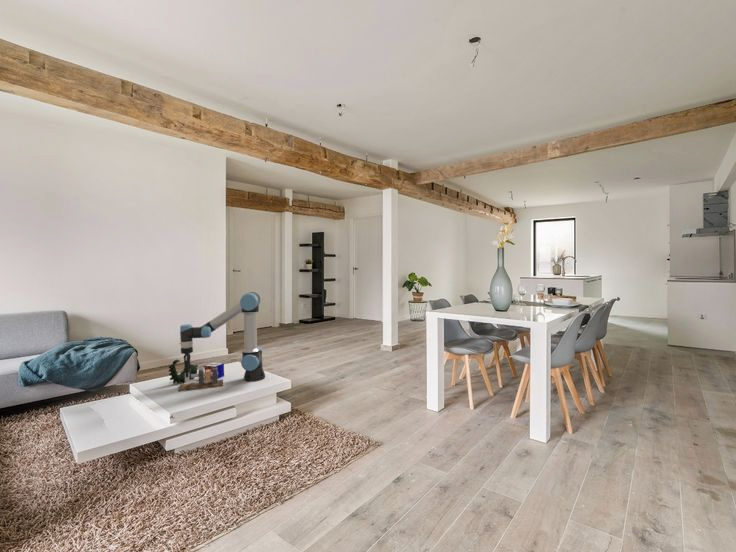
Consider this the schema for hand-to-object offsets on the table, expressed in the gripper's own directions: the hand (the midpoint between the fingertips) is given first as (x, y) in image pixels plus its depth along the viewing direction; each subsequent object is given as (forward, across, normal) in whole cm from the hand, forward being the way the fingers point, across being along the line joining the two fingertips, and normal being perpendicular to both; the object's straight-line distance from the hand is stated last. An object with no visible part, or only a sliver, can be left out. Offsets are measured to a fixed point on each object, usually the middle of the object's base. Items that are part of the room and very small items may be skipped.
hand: (187, 379), depth 264 cm
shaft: (0, 0, +9) cm, 9 cm away
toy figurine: (+6, -18, -4) cm, 19 cm away
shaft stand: (+6, 0, +8) cm, 10 cm away
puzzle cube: (+6, -19, +16) cm, 26 cm away
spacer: (+1, 0, +13) cm, 13 cm away
